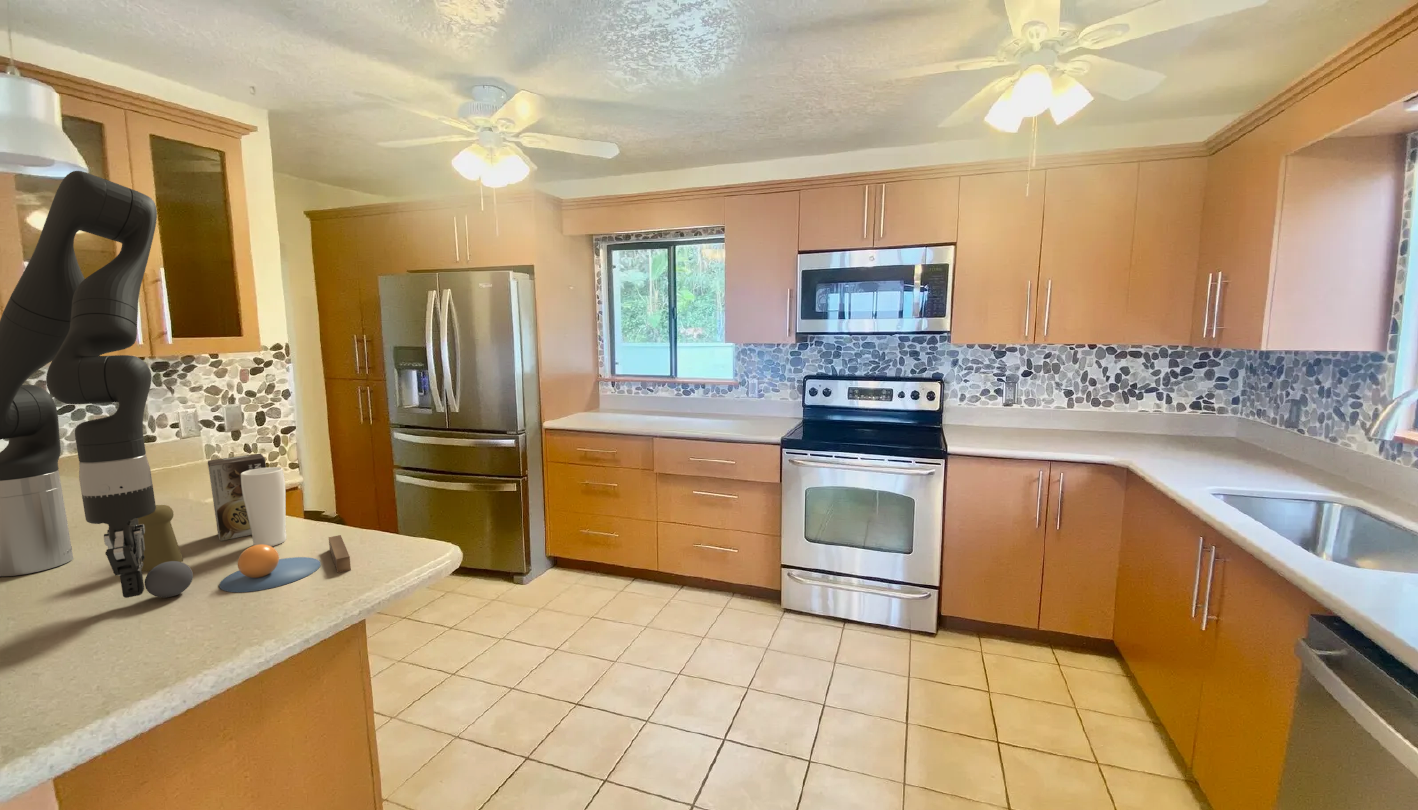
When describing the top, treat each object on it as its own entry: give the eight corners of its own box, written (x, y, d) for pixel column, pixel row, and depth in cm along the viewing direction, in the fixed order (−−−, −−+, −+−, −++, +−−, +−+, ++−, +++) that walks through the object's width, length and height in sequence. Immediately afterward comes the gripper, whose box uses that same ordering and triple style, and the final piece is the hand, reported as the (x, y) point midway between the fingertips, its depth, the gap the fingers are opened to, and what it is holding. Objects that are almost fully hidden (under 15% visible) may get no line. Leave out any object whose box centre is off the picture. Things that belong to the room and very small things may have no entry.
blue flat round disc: (217, 600, 89) (217, 599, 89) (221, 572, 100) (221, 570, 100) (323, 576, 98) (323, 574, 98) (317, 552, 109) (317, 551, 109)
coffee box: (270, 523, 126) (262, 452, 124) (274, 530, 121) (266, 457, 119) (216, 534, 120) (206, 459, 118) (219, 541, 115) (209, 464, 113)
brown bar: (337, 572, 99) (336, 559, 99) (329, 549, 110) (328, 537, 110) (350, 569, 100) (349, 556, 100) (341, 547, 111) (340, 535, 111)
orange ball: (253, 543, 95) (287, 557, 98) (253, 535, 99) (285, 548, 102) (228, 574, 93) (264, 587, 96) (229, 564, 97) (263, 577, 100)
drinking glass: (298, 540, 115) (290, 468, 113) (261, 551, 109) (252, 476, 107) (279, 535, 118) (271, 465, 116) (241, 546, 112) (232, 473, 110)
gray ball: (158, 560, 88) (199, 574, 91) (164, 551, 92) (203, 565, 95) (131, 594, 86) (173, 607, 89) (139, 583, 91) (179, 596, 94)
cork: (154, 572, 100) (146, 512, 99) (128, 570, 101) (119, 510, 100) (191, 559, 106) (184, 502, 105) (166, 557, 107) (158, 500, 106)
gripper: (145, 491, 83) (161, 602, 85) (158, 474, 93) (172, 574, 96) (70, 501, 79) (89, 618, 81) (92, 482, 89) (108, 587, 91)
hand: (134, 594), depth 88 cm, fingers closed
